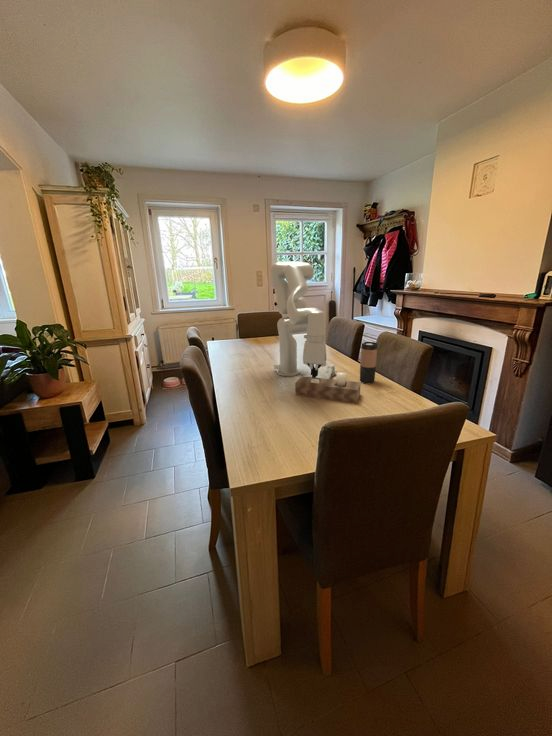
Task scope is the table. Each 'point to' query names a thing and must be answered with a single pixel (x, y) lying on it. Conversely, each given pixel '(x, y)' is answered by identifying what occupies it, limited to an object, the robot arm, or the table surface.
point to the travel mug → (368, 362)
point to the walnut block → (328, 389)
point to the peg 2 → (341, 379)
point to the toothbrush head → (329, 371)
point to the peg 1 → (314, 381)
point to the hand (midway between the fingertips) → (314, 376)
